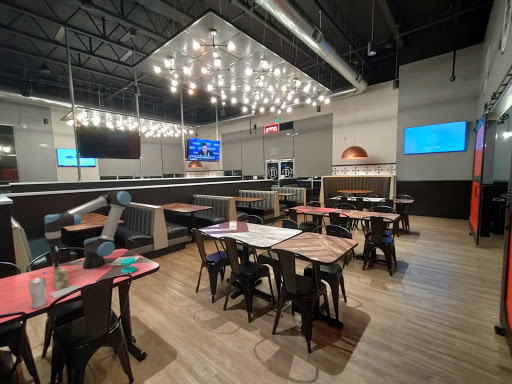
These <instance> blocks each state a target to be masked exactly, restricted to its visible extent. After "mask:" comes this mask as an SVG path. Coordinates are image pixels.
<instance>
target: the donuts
mask: <svg viewBox="0 0 512 384" xmlns="http://www.w3.org/2000/svg"><path fill="white" fill-rule="evenodd" d="M135 262H136V259H135V258H134V257H126V258H123V259H121V260H120V265H121V266H123V268H122V269H121V271H120V273H121V274H122V273H123V274H122V275H125V274H124V273H127V274H126V275H129V274H128V273H130V272H133V271H134V272H135V271H136V270H137V268H136V267H135V266H134V265H133V264H135ZM124 266H125V267H124ZM134 272H133V273H134Z"/></svg>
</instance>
